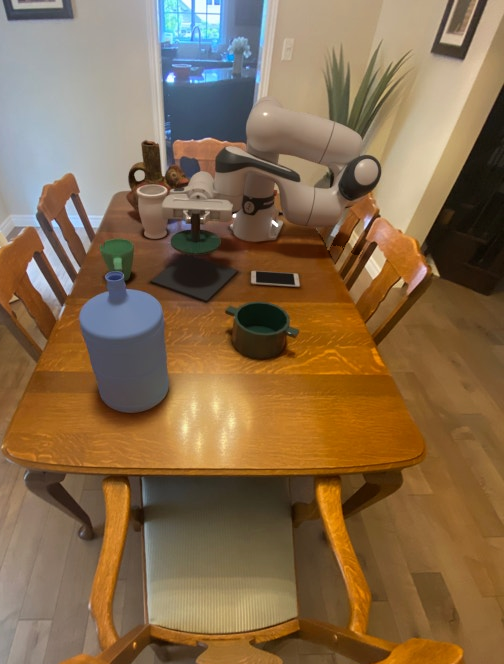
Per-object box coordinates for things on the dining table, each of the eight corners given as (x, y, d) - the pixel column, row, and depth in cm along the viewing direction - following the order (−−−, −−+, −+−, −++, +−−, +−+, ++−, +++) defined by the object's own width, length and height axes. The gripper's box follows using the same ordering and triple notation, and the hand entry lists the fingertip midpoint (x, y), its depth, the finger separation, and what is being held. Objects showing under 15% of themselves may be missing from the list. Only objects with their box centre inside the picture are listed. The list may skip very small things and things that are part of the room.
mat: (185, 256, 124) (185, 253, 123) (237, 272, 117) (238, 270, 117) (150, 283, 112) (150, 280, 112) (206, 302, 106) (206, 300, 105)
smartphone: (251, 270, 117) (298, 273, 116) (250, 272, 117) (297, 275, 117) (251, 282, 112) (300, 286, 111) (250, 284, 112) (299, 287, 112)
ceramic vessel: (185, 230, 136) (184, 152, 118) (120, 222, 140) (108, 145, 121) (196, 212, 147) (196, 138, 129) (135, 205, 151) (127, 132, 132)
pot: (237, 316, 102) (239, 292, 96) (301, 339, 96) (308, 315, 90) (213, 343, 94) (214, 319, 88) (281, 370, 88) (287, 346, 82)
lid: (187, 229, 113) (187, 197, 106) (229, 240, 109) (231, 208, 102) (160, 248, 105) (158, 215, 98) (204, 261, 100) (205, 228, 93)
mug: (105, 270, 117) (99, 239, 109) (136, 268, 118) (132, 237, 110) (106, 296, 107) (99, 264, 100) (139, 293, 108) (135, 261, 101)
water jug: (159, 419, 77) (146, 307, 56) (89, 409, 79) (50, 296, 58) (176, 369, 87) (170, 258, 66) (113, 360, 89) (88, 249, 68)
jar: (165, 242, 130) (162, 197, 119) (137, 239, 131) (132, 194, 120) (172, 229, 137) (170, 185, 126) (146, 226, 138) (142, 182, 127)
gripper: (232, 214, 112) (231, 234, 103) (166, 211, 113) (160, 231, 104) (234, 192, 107) (233, 211, 98) (165, 188, 108) (158, 207, 99)
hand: (195, 221), depth 101 cm, fingers closed on lid, 2 cm apart
